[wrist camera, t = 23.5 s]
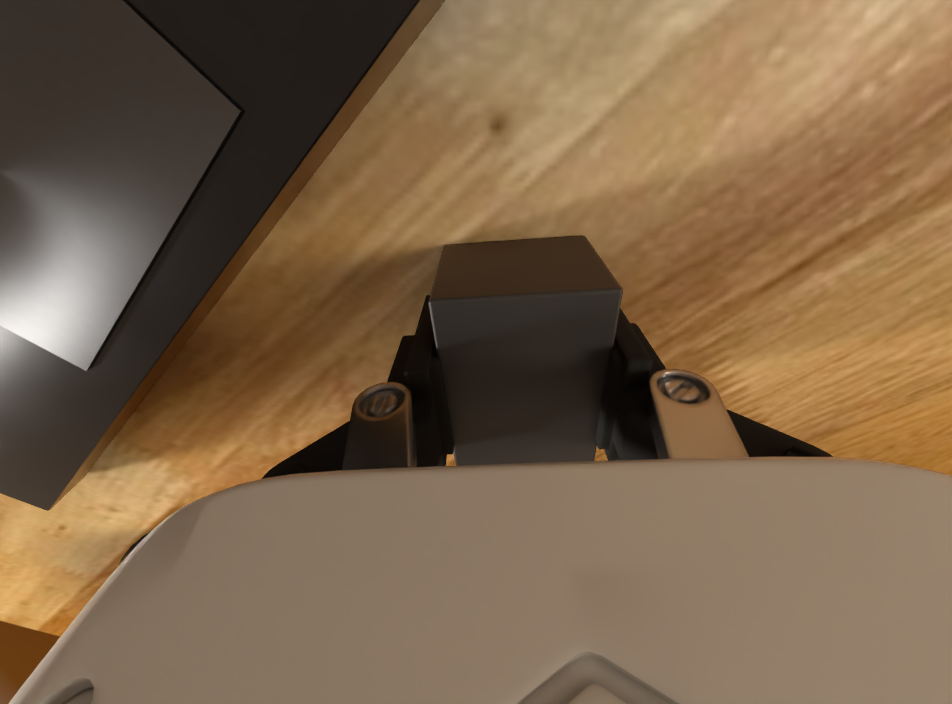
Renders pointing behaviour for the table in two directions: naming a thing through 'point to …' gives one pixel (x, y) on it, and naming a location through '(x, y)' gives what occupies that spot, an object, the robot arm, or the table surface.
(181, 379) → the table surface
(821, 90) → the table surface
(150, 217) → the laptop
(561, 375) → the gray block
